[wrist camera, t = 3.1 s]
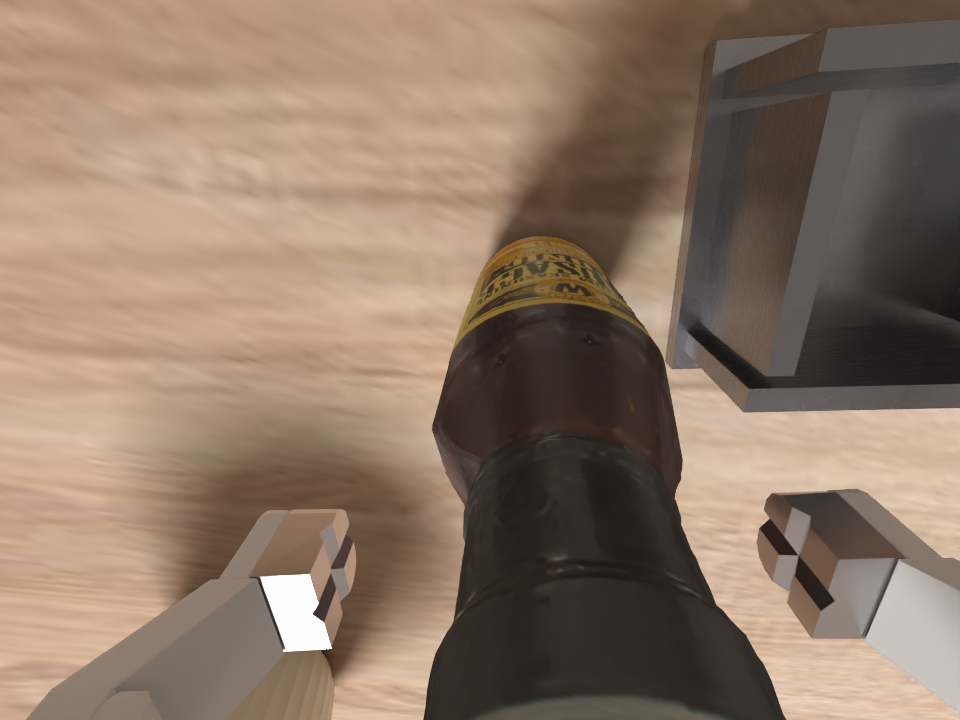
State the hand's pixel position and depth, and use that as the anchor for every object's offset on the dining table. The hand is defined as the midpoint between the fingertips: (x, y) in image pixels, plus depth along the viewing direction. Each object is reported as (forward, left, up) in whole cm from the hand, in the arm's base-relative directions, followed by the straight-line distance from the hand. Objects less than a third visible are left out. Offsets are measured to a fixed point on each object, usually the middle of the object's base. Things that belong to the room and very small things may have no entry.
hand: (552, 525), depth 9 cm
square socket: (-15, -3, -15) cm, 21 cm away
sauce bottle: (-1, 0, -16) cm, 16 cm away
